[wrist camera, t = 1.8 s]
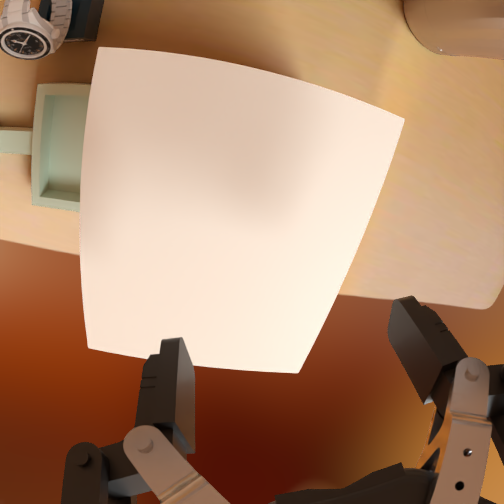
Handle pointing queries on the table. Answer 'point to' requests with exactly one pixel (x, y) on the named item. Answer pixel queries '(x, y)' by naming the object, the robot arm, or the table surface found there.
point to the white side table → (221, 206)
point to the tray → (53, 144)
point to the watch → (47, 26)
